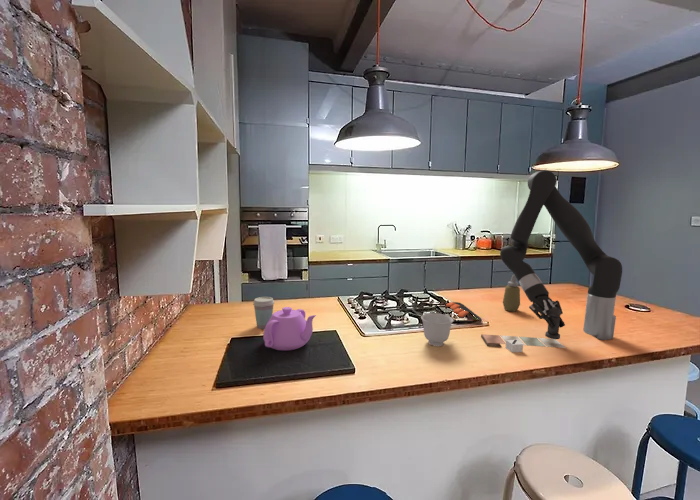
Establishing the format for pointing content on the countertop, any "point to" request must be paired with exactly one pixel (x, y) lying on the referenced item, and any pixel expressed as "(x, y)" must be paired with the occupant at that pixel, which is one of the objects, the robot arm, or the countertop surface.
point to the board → (530, 341)
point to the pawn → (555, 315)
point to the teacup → (436, 327)
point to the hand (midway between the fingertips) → (558, 327)
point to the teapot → (288, 329)
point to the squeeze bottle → (512, 295)
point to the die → (514, 346)
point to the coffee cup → (263, 310)
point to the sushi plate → (460, 310)
